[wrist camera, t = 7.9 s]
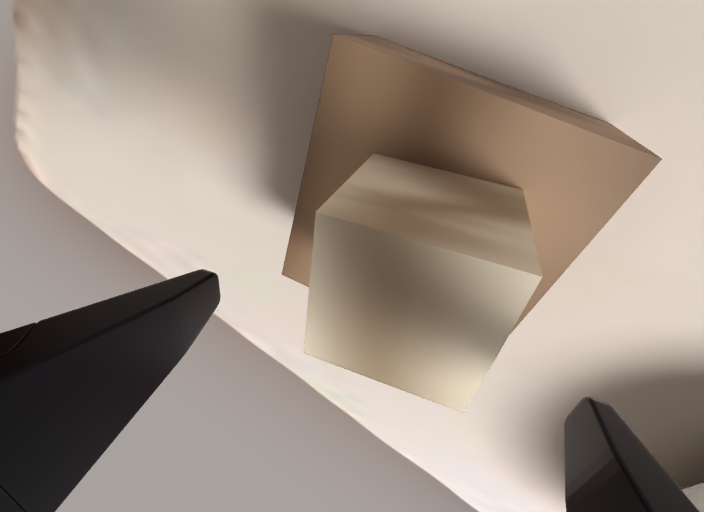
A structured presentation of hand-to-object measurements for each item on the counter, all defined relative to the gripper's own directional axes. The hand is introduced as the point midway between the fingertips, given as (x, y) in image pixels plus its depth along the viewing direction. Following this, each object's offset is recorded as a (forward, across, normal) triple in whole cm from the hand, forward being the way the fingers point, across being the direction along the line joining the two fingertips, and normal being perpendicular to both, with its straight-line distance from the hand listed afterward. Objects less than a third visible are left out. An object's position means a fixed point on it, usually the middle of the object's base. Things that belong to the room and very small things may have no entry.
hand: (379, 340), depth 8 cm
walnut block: (+11, 0, 0) cm, 11 cm away
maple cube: (+6, 0, 0) cm, 6 cm away
